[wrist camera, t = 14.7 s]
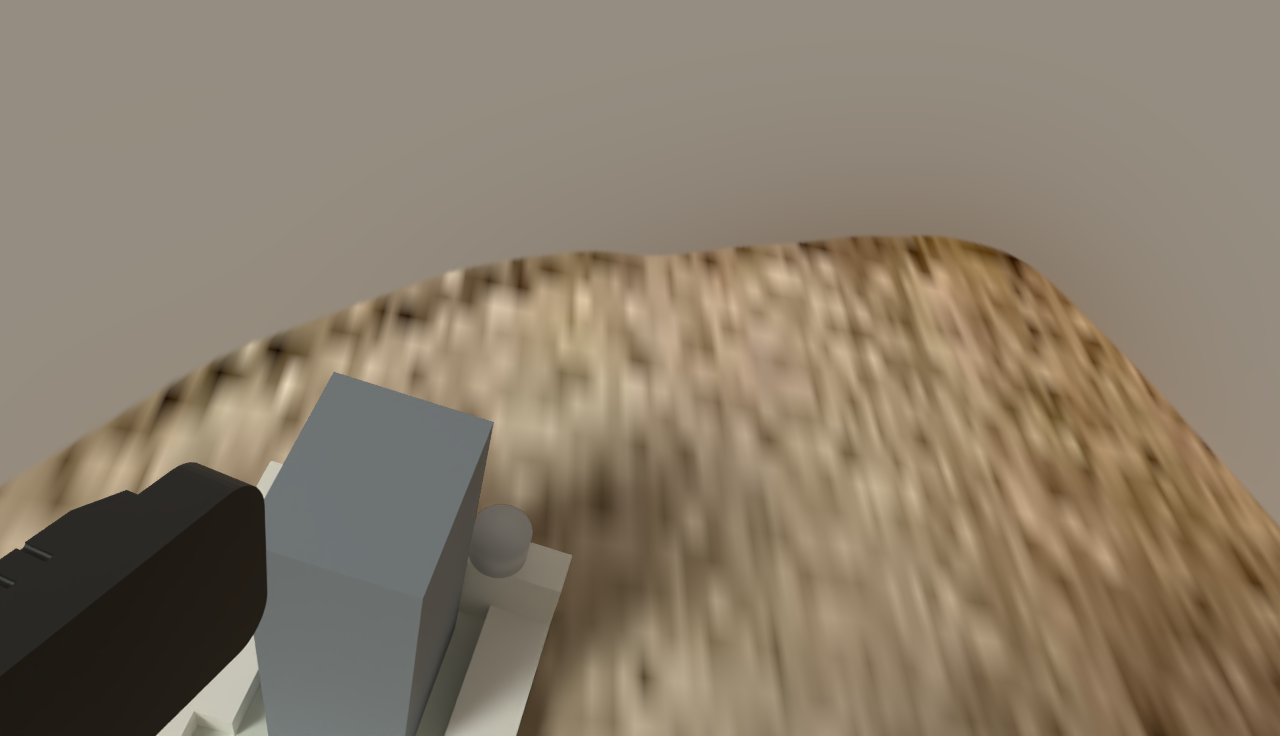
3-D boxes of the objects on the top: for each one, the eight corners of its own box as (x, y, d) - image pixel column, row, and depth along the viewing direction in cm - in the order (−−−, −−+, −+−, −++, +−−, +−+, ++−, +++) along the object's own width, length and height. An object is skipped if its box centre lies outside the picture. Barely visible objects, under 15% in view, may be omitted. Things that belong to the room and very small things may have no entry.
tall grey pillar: (399, 777, 35) (422, 598, 25) (268, 736, 35) (240, 542, 25) (454, 628, 39) (493, 422, 29) (335, 592, 39) (333, 371, 29)
